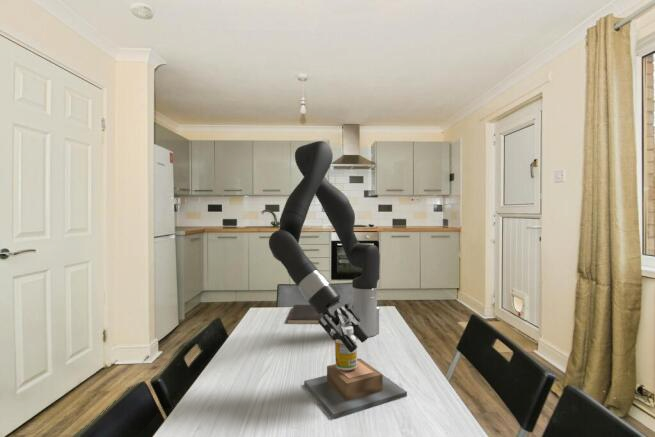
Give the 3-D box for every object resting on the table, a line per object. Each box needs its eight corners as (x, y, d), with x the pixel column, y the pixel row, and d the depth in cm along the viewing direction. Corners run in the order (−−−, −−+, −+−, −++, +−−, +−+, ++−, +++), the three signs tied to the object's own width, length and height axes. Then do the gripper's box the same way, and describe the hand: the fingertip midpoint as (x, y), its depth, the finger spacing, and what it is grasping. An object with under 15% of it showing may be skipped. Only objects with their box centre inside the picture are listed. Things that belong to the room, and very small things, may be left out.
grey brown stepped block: (369, 368, 92) (369, 350, 92) (406, 395, 78) (406, 374, 78) (304, 384, 83) (304, 364, 83) (333, 418, 69) (333, 394, 69)
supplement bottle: (337, 362, 85) (336, 324, 86) (358, 363, 84) (357, 324, 84) (333, 370, 80) (332, 329, 80) (355, 371, 78) (354, 330, 79)
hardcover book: (326, 309, 155) (326, 304, 155) (326, 325, 132) (326, 319, 132) (293, 309, 155) (293, 304, 155) (286, 324, 132) (286, 319, 132)
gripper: (313, 288, 78) (359, 346, 72) (339, 278, 91) (380, 327, 85) (295, 307, 80) (337, 365, 75) (323, 295, 93) (361, 344, 88)
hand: (360, 344), depth 80 cm, fingers open, 6 cm apart
